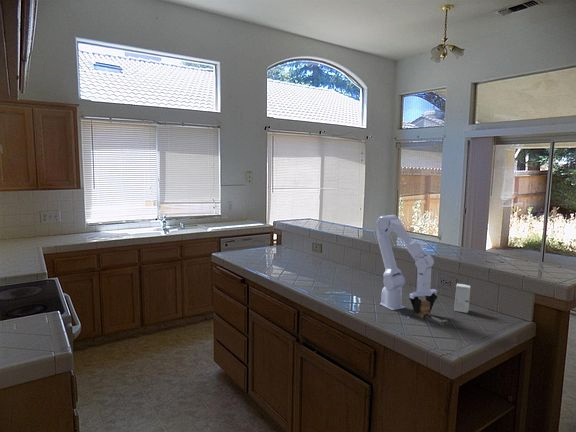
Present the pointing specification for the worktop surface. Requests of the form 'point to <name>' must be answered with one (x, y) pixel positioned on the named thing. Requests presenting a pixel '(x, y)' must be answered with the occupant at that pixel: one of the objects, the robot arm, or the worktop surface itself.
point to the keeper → (424, 308)
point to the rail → (435, 320)
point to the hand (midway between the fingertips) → (422, 311)
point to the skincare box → (462, 298)
